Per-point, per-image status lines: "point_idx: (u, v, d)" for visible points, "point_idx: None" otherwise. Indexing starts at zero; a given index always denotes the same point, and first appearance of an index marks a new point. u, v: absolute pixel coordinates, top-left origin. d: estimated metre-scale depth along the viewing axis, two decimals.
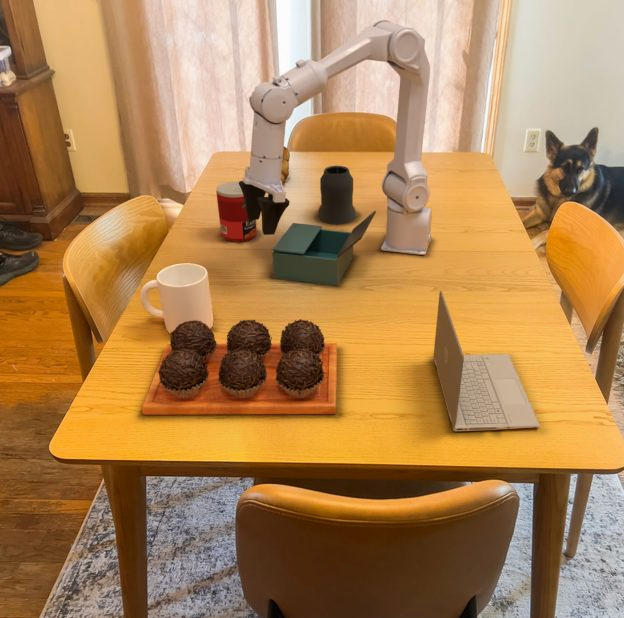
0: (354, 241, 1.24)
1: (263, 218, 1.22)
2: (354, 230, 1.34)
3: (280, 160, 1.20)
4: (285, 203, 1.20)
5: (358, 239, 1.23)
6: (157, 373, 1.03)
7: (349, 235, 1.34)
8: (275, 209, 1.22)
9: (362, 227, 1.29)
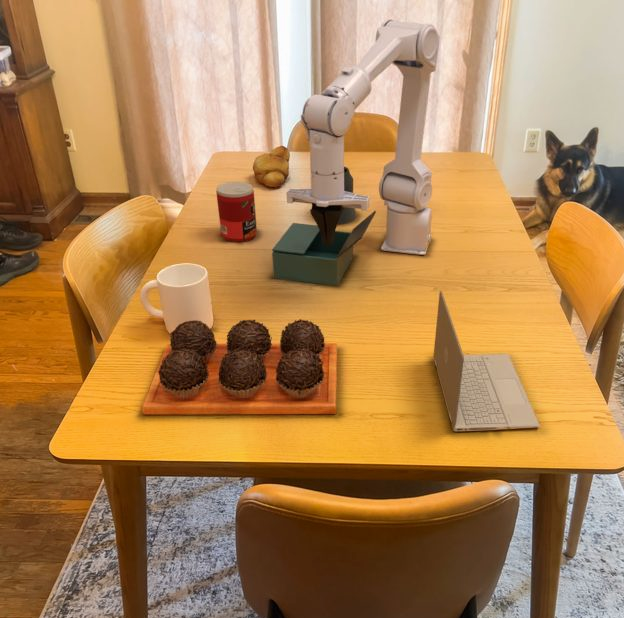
0: (354, 241, 1.24)
1: (330, 229, 1.18)
2: (354, 230, 1.34)
3: None
4: None
5: (358, 239, 1.23)
6: (157, 373, 1.03)
7: (349, 235, 1.34)
8: None
9: (362, 227, 1.29)
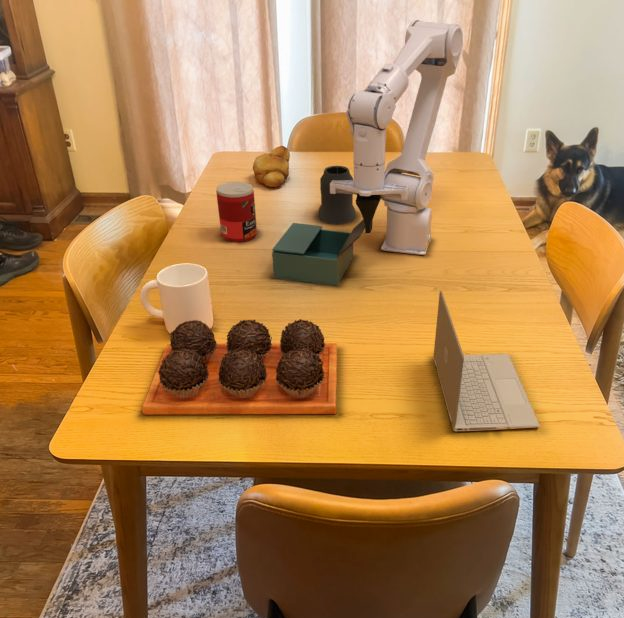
0: (353, 240, 1.24)
1: (369, 218, 1.26)
2: (354, 230, 1.34)
3: None
4: None
5: (357, 238, 1.23)
6: (157, 373, 1.03)
7: (349, 235, 1.34)
8: None
9: (361, 226, 1.29)
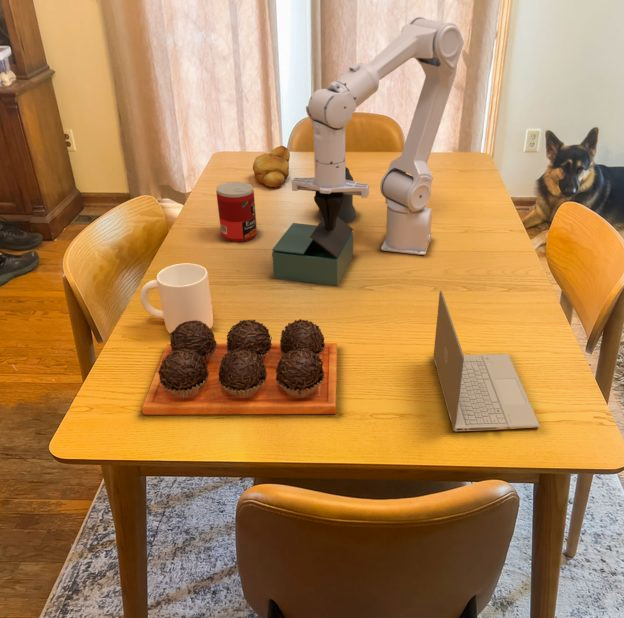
0: (317, 241, 1.26)
1: (333, 215, 1.27)
2: None
3: None
4: (345, 193, 1.28)
5: (312, 238, 1.25)
6: (157, 373, 1.03)
7: None
8: None
9: None
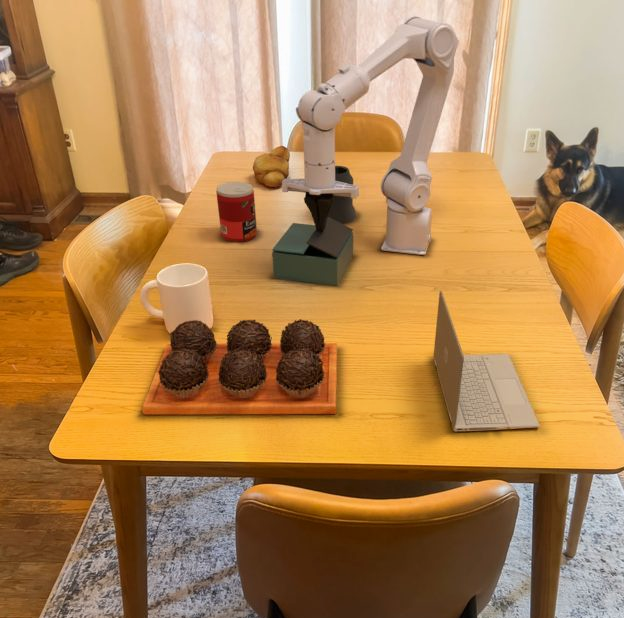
0: None
1: (323, 216, 1.28)
2: None
3: None
4: None
5: (309, 244, 1.26)
6: (157, 373, 1.03)
7: None
8: None
9: None
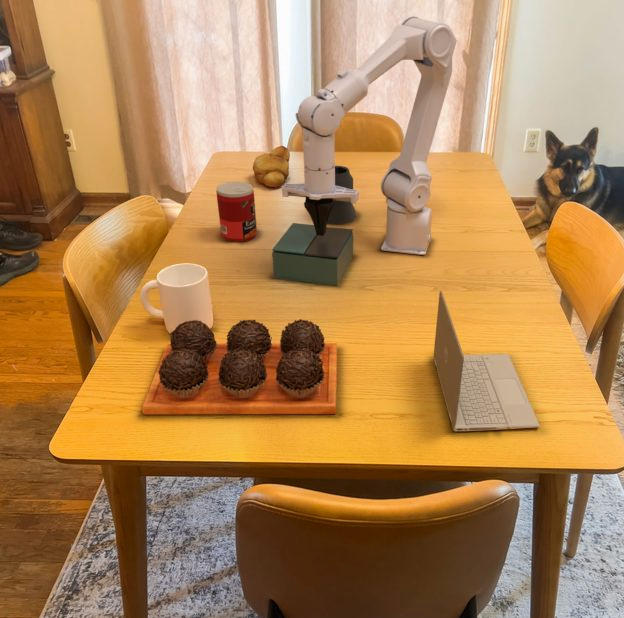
0: None
1: (323, 221, 1.28)
2: None
3: None
4: (335, 199, 1.29)
5: (307, 254, 1.28)
6: (157, 373, 1.03)
7: (348, 237, 1.34)
8: None
9: None
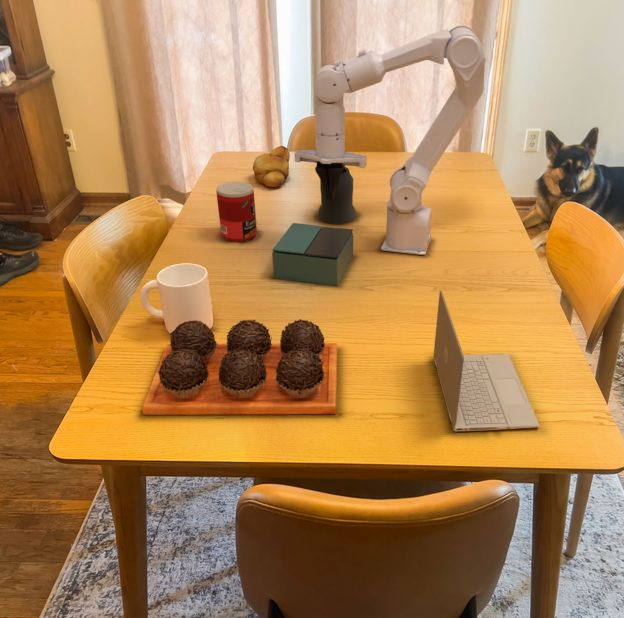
0: None
1: (333, 185, 1.36)
2: None
3: None
4: (344, 165, 1.37)
5: (307, 254, 1.28)
6: (157, 373, 1.03)
7: (348, 237, 1.34)
8: None
9: None
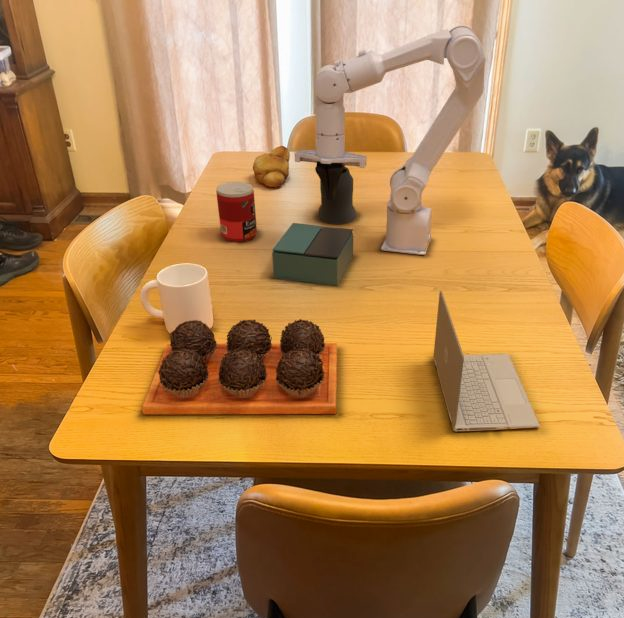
0: None
1: (333, 185, 1.36)
2: None
3: None
4: (344, 165, 1.37)
5: (307, 254, 1.28)
6: (157, 373, 1.03)
7: (348, 237, 1.34)
8: None
9: None
